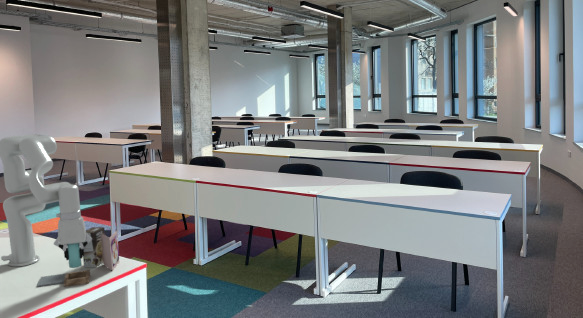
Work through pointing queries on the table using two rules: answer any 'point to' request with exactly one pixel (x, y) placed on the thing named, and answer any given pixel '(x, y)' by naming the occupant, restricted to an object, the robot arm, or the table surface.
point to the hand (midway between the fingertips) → (74, 257)
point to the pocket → (77, 278)
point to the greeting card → (110, 250)
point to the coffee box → (93, 248)
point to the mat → (51, 280)
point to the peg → (74, 255)
